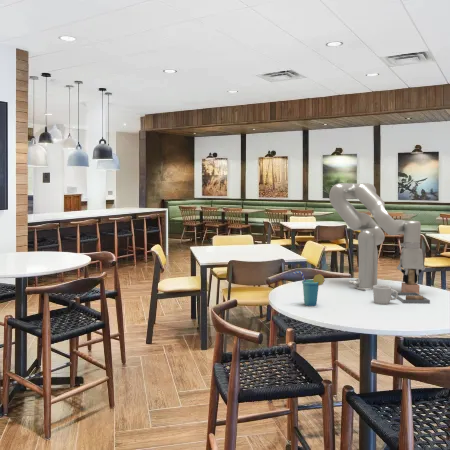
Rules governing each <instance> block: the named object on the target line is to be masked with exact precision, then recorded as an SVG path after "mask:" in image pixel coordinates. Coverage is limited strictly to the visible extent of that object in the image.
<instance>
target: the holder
mask: <svg viewBox="0 0 450 450" xmlns="http://www.w3.org/2000/svg"><path fill="white" fill-rule="evenodd" d="M401 292H416V293H418V294H420V284H418V283H414V285H407V283H405V282H404V281H402V282H401Z"/></svg>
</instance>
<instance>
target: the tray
mask: <svg viewBox="0 0 450 450" xmlns="http://www.w3.org/2000/svg"><path fill="white" fill-rule="evenodd" d="M397 292H398V291H397ZM400 296H422V295H421V294H420V293H419V294H418V293H416V292H400V291H399V292H398V297H397V299H396V300H398V301H400V303H402V304H423V305H424V304H431V299H428V298H427V297H426V296H423V298H424V300H406V299H404V298H402V297H400ZM391 297H392V298H395V297H396V293H395V292H392V294H391Z"/></svg>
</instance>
